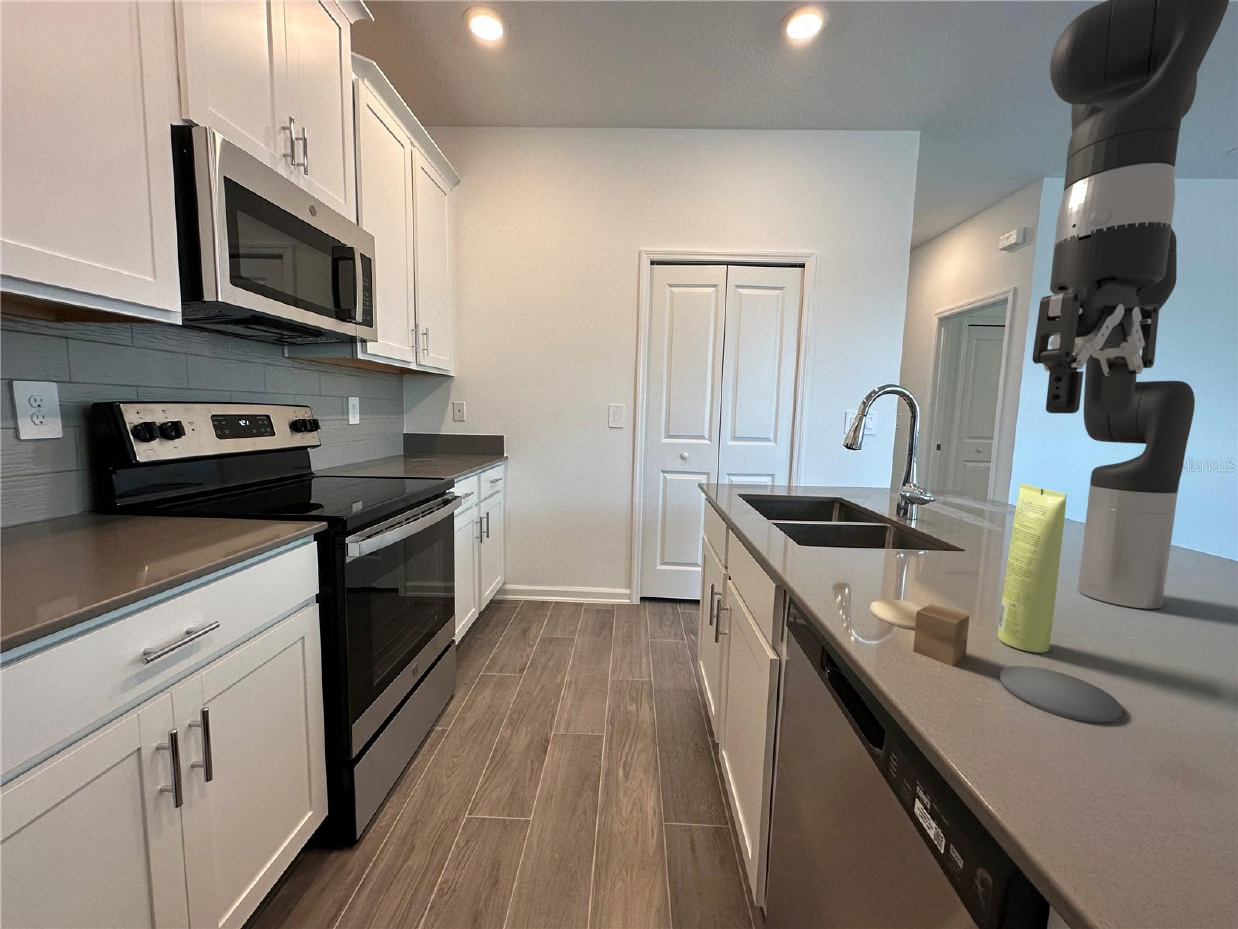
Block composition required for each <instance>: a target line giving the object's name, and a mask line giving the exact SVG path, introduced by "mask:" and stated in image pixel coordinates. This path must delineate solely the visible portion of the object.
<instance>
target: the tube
mask: <svg viewBox="0 0 1238 929" xmlns="http://www.w3.org/2000/svg"><path fill="white" fill-rule="evenodd" d="M1017 496H1018V497H1017V501H1016V506H1015V507H1016V508H1015V511H1014V513H1015V514H1014V519H1013V526H1012V531H1011V536H1010V542H1009V543H1010V544H1009V550H1008V558H1007V564H1006V571H1005V579H1004V586H1003V591H1002V599H1001V606H1000V607H1001V608H1000V613H999V621H998V622H999V623H998V629H997V637H998V639H999V640H1000V642H1002V643H1003V644H1005V645H1007V646H1010V647H1012V648H1015V649H1018V650H1021V651H1025V652H1029V653H1038V654H1039V653H1046V652H1048V651H1050V647H1051V646H1050V645H1051V640H1052V639H1051V637H1052V631H1053V623H1054V622H1053V621H1054V613H1055V603H1056V594H1057V590H1058V589H1057V587H1058V581H1059V580H1058V579H1059V570H1060V560H1061V553H1062V545H1063V535H1064V534H1063V533H1064V525H1065V517H1066V516H1065V515H1066V507H1067V506H1066V505H1067V496H1068V494H1067V492H1062V491H1061V492H1060V491H1056V490H1052V489H1047V488H1042V487H1039V486H1035V485H1031V484H1026V483H1023V482H1021V483H1020V484H1019V491H1018V495H1017Z"/></svg>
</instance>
